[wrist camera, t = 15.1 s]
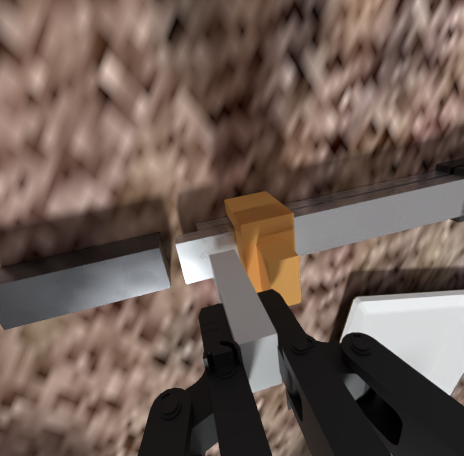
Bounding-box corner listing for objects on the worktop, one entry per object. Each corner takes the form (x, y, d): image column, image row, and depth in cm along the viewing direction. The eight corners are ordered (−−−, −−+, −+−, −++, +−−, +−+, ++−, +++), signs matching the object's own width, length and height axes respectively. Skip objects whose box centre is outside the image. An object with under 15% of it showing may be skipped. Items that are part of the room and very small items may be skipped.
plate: (428, 395, 36) (442, 411, 34) (301, 419, 32) (310, 438, 30) (492, 276, 29) (514, 288, 27) (342, 284, 25) (356, 298, 23)
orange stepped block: (235, 270, 21) (263, 333, 15) (224, 199, 18) (251, 241, 13) (272, 261, 21) (313, 318, 15) (265, 191, 19) (311, 227, 13)
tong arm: (186, 280, 19) (187, 290, 18) (173, 229, 17) (173, 237, 16) (496, 204, 22) (512, 208, 21) (510, 155, 21) (529, 157, 20)
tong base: (26, 309, 19) (8, 335, 16) (-4, 260, 17) (-28, 282, 15) (477, 198, 24) (508, 207, 22) (489, 152, 22) (523, 157, 20)
